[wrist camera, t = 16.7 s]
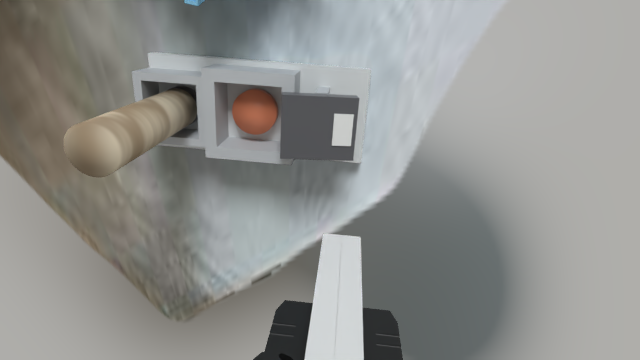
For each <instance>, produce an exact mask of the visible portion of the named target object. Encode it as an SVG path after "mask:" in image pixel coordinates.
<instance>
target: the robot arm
mask: <svg viewBox="0 0 640 360" xmlns="http://www.w3.org/2000/svg"><path fill="white" fill-rule="evenodd" d="M253 360H403V358H402V351H401V343H400V338H399V329H398V323H397V321H396V320H395V318H394V317H393V315H392V314H391V312H390V311H388V310H379V309H369V308H362V276H361V239H360V237H355V236H345V235H335V234H325V233H323V240H322V246H321V253H320V260H319V266H318V273H317V279H316V286H315V293H314V299H313V303H305V302H296V301H286V300H285V301H284V302H283V303H282V304H281V305H280V306H279V307H278V309H277V310H276V312H275V316H274V320H273V324H272V327H271V330H270V335H269V338H268V341H267V345H266V349H265V352H262V353H260V354H259V355H258V356H257V357H255V358H254V359H253Z"/></svg>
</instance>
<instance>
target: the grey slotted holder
mask: <svg viewBox="0 0 640 360" xmlns="http://www.w3.org/2000/svg"><path fill="white" fill-rule="evenodd" d="M148 61H149V68H145V69H140V70H136V71H132V77H133V86H134V94H135V102H137V101H140V100H143V99H145V98H148V97H151V96H153V95H156V94H159V93H162V92H164V91H167V90H168V89H171V88H174V87H176V86H187V87H190V88H192V89H193V90H195V91H196V97H197V115H198V120H197V121H195V122H193V123H192V124H190V125H188V126H186V127H185V128H183V129H181V130H180V131H178V132H177V133H175V134H174V135H172V136H170V137H169V138H167V139H166V140H164V141H162V142H161V143H159V144H158V145H161V146H172V147H183V148H194V149H205V155H206V157H207V158H218V159H229V160H240V161H251V162H262V163H273V164H284V165H292V163H293V161H294V159H280V138H281V99H282V92H296V93H317V94H337V95H357V96H358V97H359V98H360V99H359V108H358V118H357V128H356V138H355V147H354V157H353V161H344V160H329V161H341V162H352V163H361V158H362V149H363V140H364V131H365V122H366V113H367V104H368V95H369V86H370V77H371V68H358V67H345V66H332V65H319V64H305V63H292V62H279V61H266V60H252V59H239V58H226V57H213V56H199V55H186V54H173V53H160V52H152V53H148ZM254 88H257V89H262V90H265V91H267V92H268V93H270V94H271V95H272V96H273V98H274V99H275V101H276V103H277V105H278V118H277V120H276V122H275V124H274V125H273V126H272V127H271V128H270V129H269V130H268V131H267V132H265V133H263V134H259V135H253V134H249V133H246V132H244V131H243V130H241V129H240V128H239V127H238V126H237V124H236V123H235V121H234V119H233V115H232V107H233V103H234V101H235V99H236V98H237V97H238V96H239V95H240V94H242V93H243V92H245V91H247V90H249V89H254Z"/></svg>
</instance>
